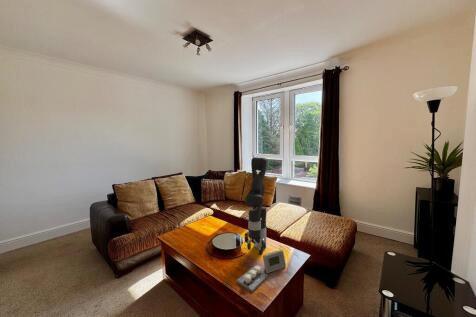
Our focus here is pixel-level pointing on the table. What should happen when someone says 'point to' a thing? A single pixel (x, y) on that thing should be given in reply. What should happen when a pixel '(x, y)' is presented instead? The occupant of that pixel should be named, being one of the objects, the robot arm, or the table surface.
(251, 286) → the button board
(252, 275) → the button
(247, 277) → the button
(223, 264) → the table surface
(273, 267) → the digital clock
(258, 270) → the button
